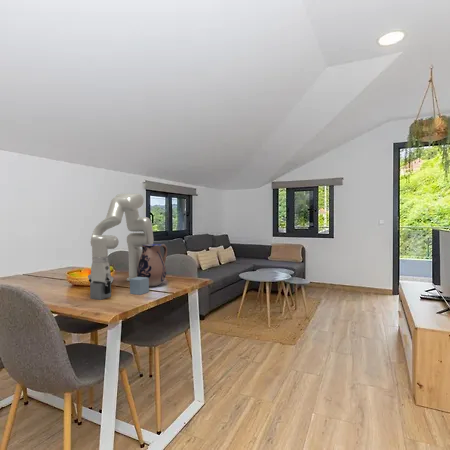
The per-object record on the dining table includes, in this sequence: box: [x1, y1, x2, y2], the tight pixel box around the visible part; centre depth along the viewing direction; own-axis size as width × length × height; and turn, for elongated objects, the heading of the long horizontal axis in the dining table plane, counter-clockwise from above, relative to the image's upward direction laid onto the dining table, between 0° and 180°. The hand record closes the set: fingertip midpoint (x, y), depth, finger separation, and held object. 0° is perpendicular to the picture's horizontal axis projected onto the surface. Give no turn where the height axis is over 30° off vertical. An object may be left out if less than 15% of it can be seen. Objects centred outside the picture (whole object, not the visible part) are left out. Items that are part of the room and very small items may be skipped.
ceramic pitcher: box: [137, 243, 168, 287], centre depth 191 cm, size 18×21×25 cm
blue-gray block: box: [129, 277, 150, 296], centre depth 171 cm, size 7×7×8 cm
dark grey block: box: [89, 282, 112, 301], centre depth 162 cm, size 7×7×8 cm
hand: (100, 292), depth 161 cm, fingers open, 9 cm apart
